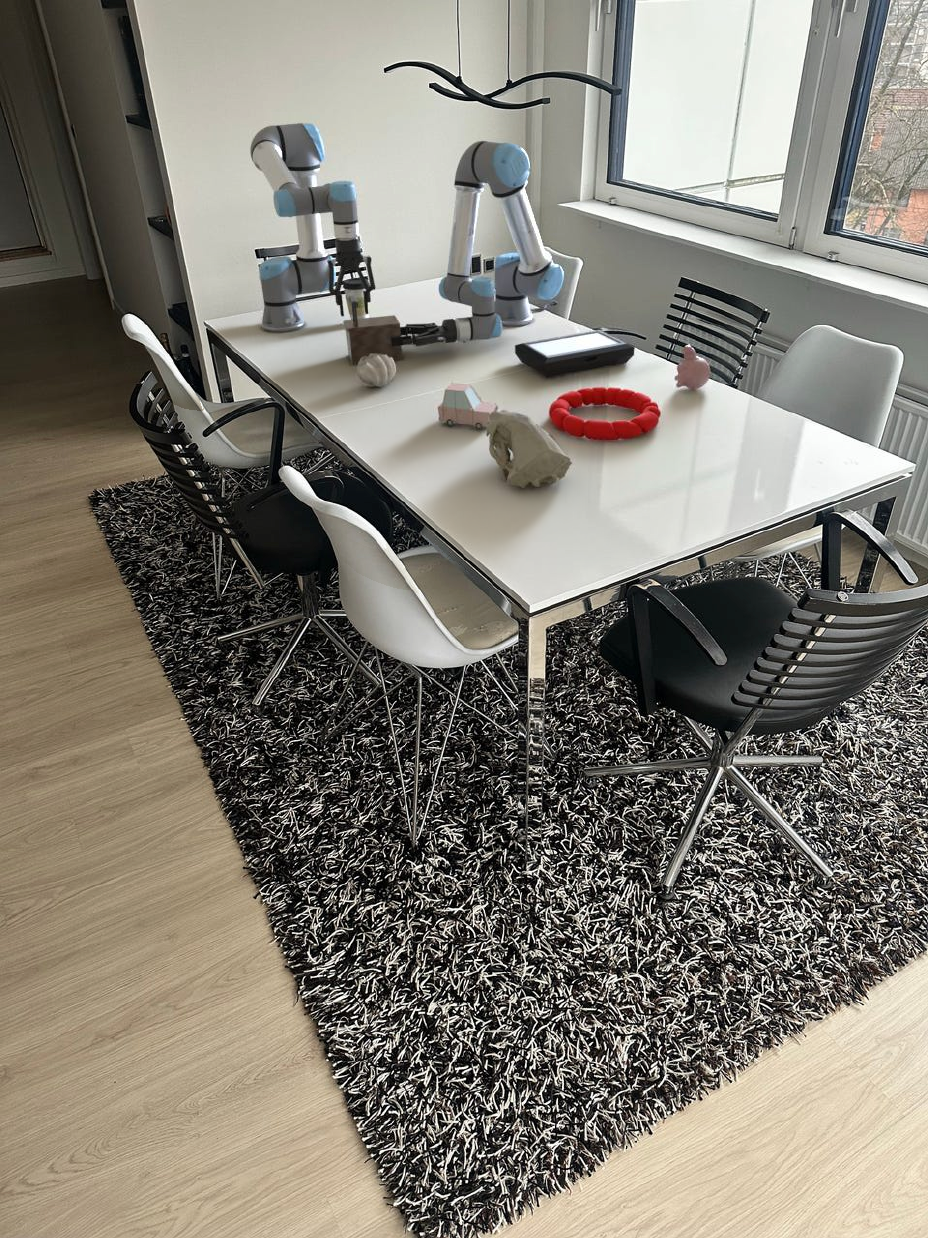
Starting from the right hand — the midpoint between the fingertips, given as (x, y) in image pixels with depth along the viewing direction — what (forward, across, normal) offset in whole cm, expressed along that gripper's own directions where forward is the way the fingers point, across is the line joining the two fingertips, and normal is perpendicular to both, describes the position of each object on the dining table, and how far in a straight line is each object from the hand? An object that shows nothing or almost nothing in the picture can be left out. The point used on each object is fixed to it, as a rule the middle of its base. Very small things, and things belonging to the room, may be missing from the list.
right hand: (389, 337), depth 292 cm
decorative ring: (-46, -75, -6) cm, 88 cm away
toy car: (-11, -64, -6) cm, 65 cm away
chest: (+5, 0, -6) cm, 8 cm away
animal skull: (-16, -97, -6) cm, 99 cm away
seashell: (+8, -27, -6) cm, 29 cm away
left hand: (+11, 0, +8) cm, 14 cm away
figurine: (-79, -59, -6) cm, 99 cm away
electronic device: (-55, -26, -6) cm, 61 cm away
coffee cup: (+4, +41, -6) cm, 41 cm away
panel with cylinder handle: (+5, 0, +5) cm, 7 cm away
